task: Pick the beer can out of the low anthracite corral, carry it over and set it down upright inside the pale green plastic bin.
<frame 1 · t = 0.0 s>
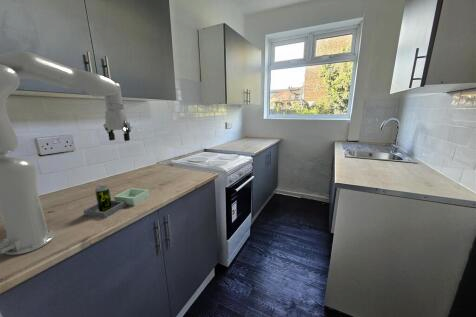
hand: (119, 140, 106), 31 cm above the counter, fingers open, 9 cm apart
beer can: (105, 211, 94), resting in corral
green bin: (133, 199, 105), on the counter
corral: (105, 210, 94), on the counter
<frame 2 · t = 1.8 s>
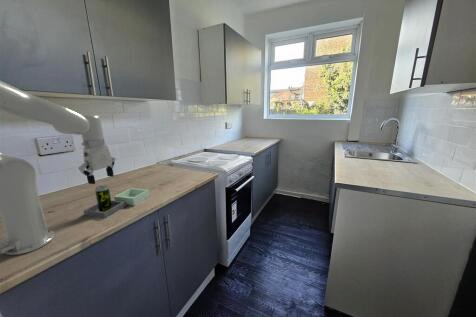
hand: (101, 179, 91), 15 cm above the counter, fingers open, 9 cm apart
nothing on the counter moved.
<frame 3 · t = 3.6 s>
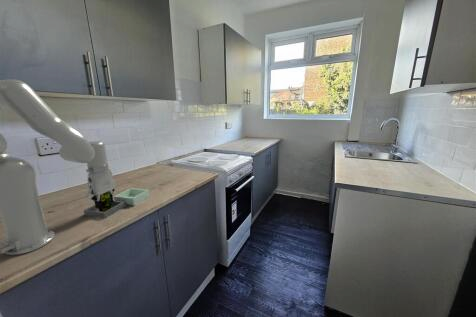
hand: (104, 204, 93), 3 cm above the counter, fingers closed on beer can, 5 cm apart
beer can: (106, 211, 94), resting in corral, touching gripper
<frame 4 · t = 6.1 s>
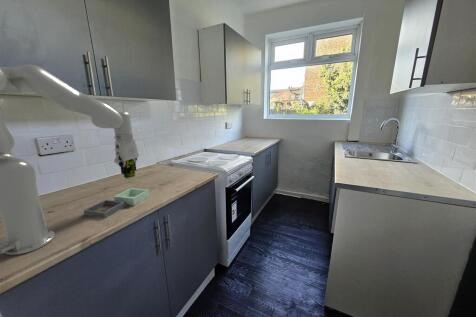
hand: (129, 171, 102), 16 cm above the counter, fingers closed on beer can, 5 cm apart
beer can: (129, 177, 102), point 13 cm above the counter, touching gripper
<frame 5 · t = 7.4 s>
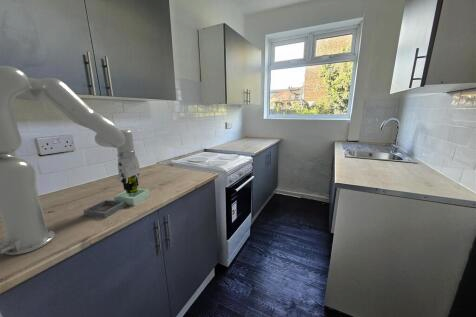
hand: (131, 187, 104), 7 cm above the counter, fingers closed on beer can, 5 cm apart
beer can: (132, 193, 104), point 4 cm above the counter, touching gripper
when the fingers open (5 cm above the counter, at t = 8.7 s): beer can drops 1 cm, resting on green bin.
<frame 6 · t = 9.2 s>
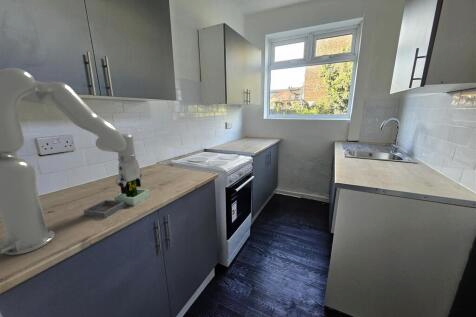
hand: (131, 189, 104), 6 cm above the counter, fingers open, 9 cm apart
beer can: (132, 199, 105), resting on green bin
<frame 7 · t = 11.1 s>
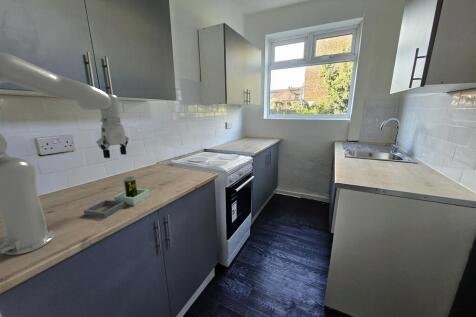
hand: (115, 156, 98), 25 cm above the counter, fingers open, 9 cm apart
nothing on the counter moved.
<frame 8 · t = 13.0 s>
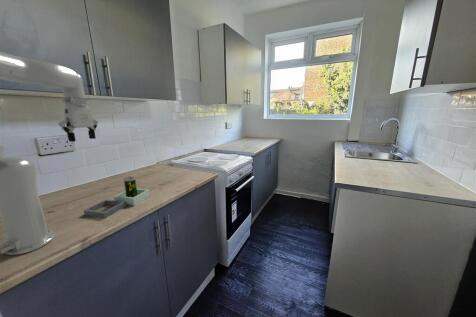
hand: (83, 139, 93), 33 cm above the counter, fingers open, 9 cm apart
nothing on the counter moved.
at the end: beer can inside the target area on the green bin (0.3 cm from its centre), point 0.4 cm above the green bin's base; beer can tilted 0°; the gripper is holding nothing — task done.
